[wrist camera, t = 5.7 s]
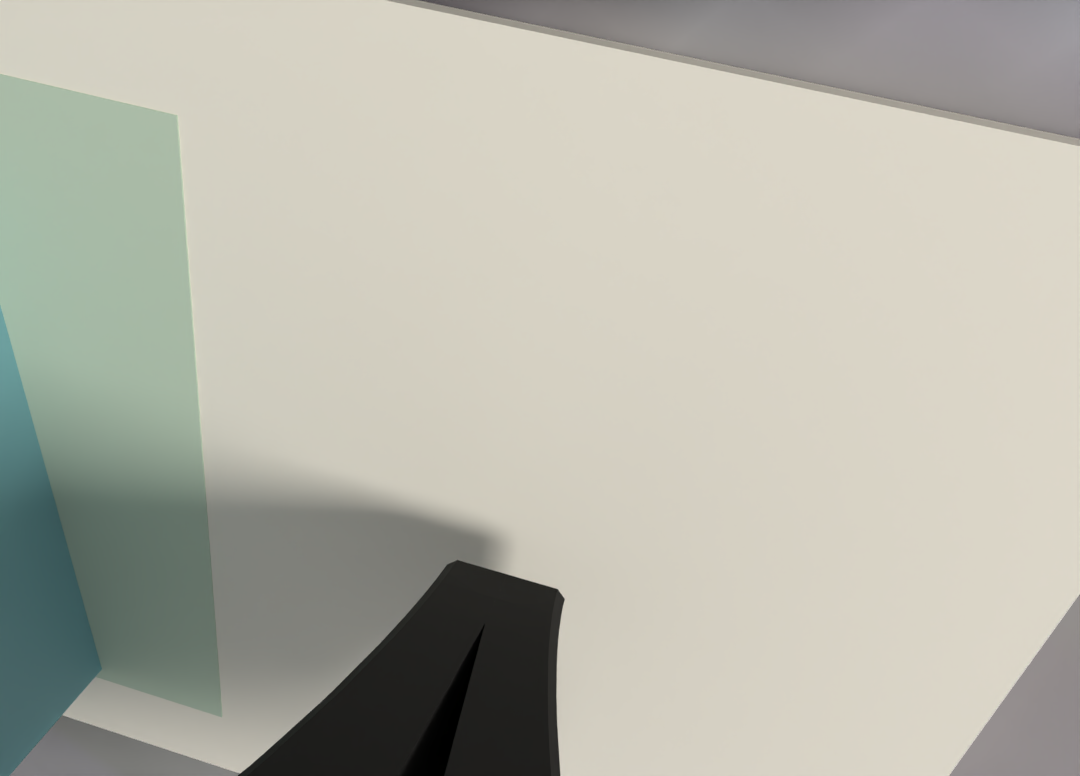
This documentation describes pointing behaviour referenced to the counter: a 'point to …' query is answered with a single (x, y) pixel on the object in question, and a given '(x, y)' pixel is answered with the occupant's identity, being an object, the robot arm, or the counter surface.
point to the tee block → (34, 586)
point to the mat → (538, 375)
